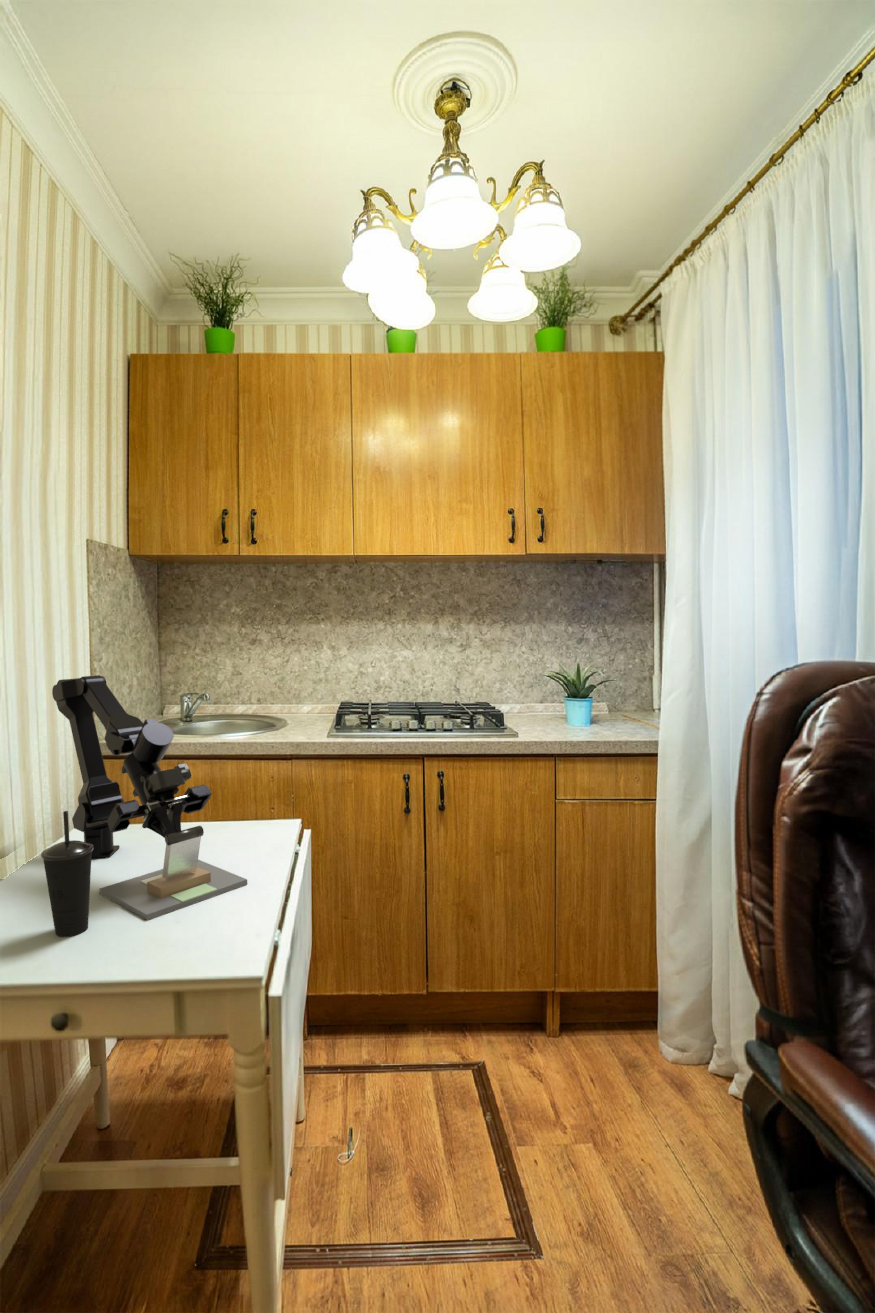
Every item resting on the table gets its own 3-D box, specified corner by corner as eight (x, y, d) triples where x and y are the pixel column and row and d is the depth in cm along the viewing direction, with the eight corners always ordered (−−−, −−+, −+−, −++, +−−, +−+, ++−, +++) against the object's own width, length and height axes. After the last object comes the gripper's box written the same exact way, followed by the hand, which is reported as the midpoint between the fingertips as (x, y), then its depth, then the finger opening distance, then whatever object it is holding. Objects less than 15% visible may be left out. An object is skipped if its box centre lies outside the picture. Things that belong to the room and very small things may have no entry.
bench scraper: (160, 876, 131) (165, 832, 129) (192, 866, 136) (198, 823, 134) (165, 881, 130) (171, 837, 128) (198, 871, 135) (204, 828, 133)
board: (99, 893, 133) (98, 879, 133) (196, 863, 148) (196, 850, 148) (147, 920, 121) (146, 904, 121) (247, 884, 136) (246, 870, 136)
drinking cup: (57, 921, 121) (51, 805, 120) (104, 919, 122) (98, 804, 121) (36, 942, 114) (29, 819, 112) (86, 939, 114) (80, 817, 113)
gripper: (111, 760, 128) (144, 832, 121) (204, 744, 142) (239, 808, 135) (94, 796, 133) (124, 867, 127) (185, 777, 147) (217, 840, 141)
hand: (179, 844), depth 132 cm, fingers closed
